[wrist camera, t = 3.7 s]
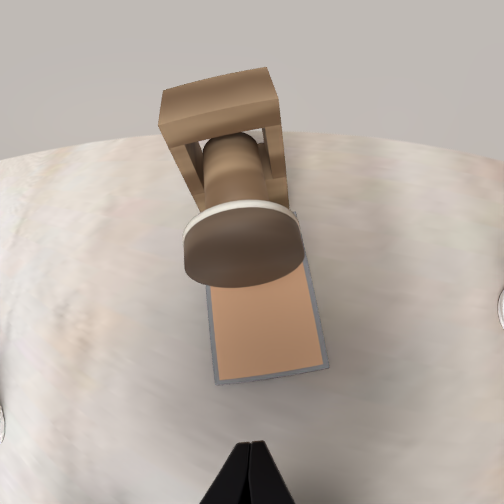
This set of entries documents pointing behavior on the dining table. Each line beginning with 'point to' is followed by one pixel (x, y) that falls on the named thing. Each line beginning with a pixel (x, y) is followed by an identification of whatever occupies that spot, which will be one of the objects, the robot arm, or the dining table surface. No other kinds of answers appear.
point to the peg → (239, 221)
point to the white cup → (1, 425)
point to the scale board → (266, 329)
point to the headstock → (224, 125)
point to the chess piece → (501, 309)
